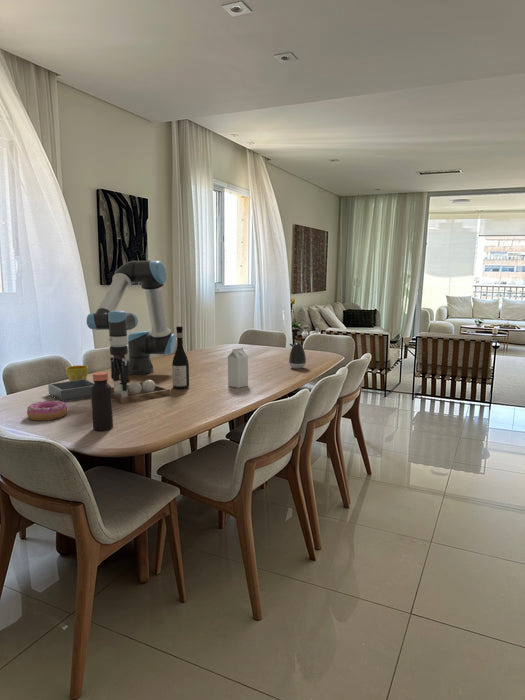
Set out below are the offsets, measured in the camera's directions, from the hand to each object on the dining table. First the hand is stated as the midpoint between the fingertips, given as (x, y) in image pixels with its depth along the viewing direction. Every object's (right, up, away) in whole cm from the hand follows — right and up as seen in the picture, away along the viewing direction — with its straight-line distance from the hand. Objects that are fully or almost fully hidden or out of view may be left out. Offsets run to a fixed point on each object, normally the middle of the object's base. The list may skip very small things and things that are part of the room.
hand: (120, 396), depth 213 cm
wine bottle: (+24, +2, +19) cm, 31 cm away
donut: (-20, -5, -29) cm, 36 cm away
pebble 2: (+5, 0, +5) cm, 7 cm away
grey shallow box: (-22, 0, +4) cm, 23 cm away
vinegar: (+7, -7, -44) cm, 46 cm away
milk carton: (+52, +3, +22) cm, 56 cm away
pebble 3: (+10, +1, +9) cm, 14 cm away
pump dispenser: (+85, +10, +69) cm, 110 cm away
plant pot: (-28, +3, +21) cm, 35 cm away
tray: (+5, 0, +5) cm, 7 cm away
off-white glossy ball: (0, 0, 0) cm, 0 cm away
